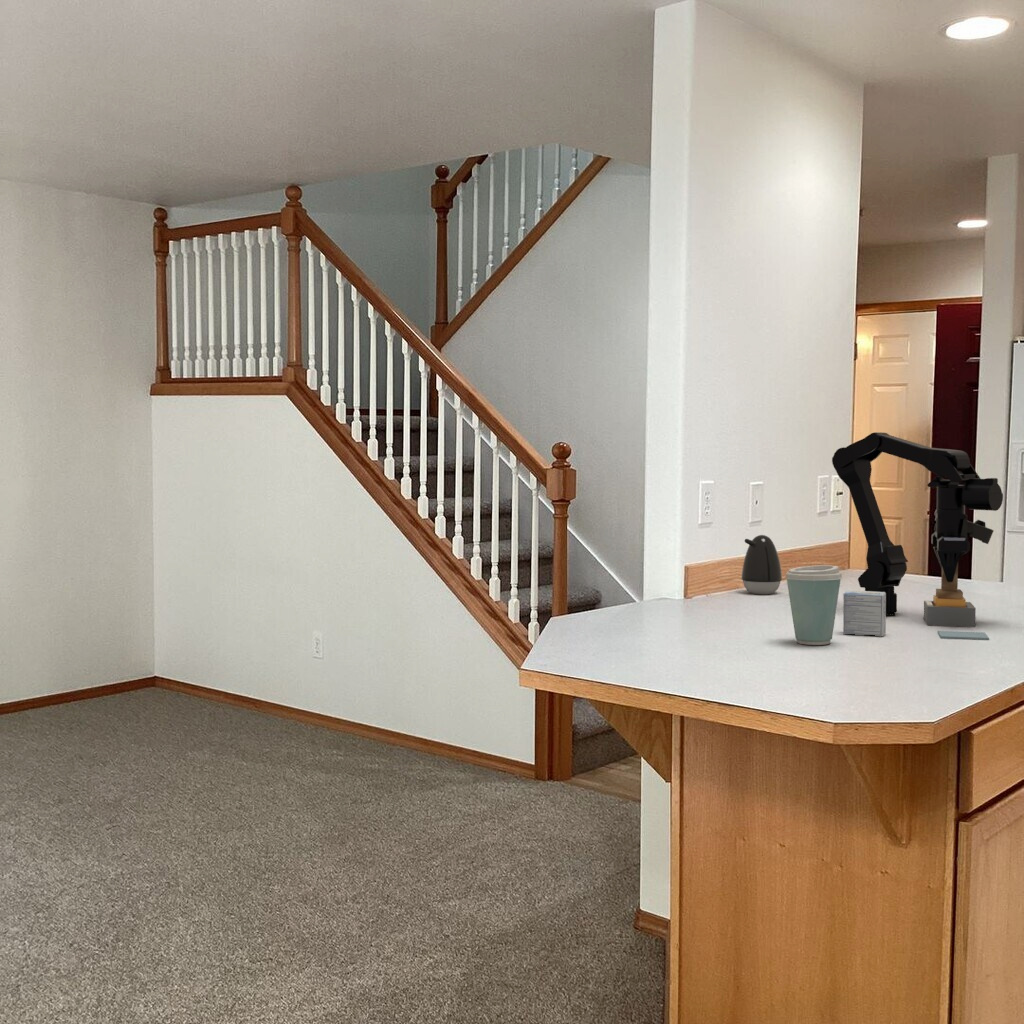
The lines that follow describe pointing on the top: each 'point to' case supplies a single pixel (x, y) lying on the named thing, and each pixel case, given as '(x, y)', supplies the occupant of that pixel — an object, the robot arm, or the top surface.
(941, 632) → the rubber mat
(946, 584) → the press tool
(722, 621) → the top surface
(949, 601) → the button
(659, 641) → the top surface
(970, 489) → the robot arm
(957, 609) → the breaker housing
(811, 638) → the disposable coffee cup
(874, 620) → the medicine box
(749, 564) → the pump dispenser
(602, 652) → the top surface
